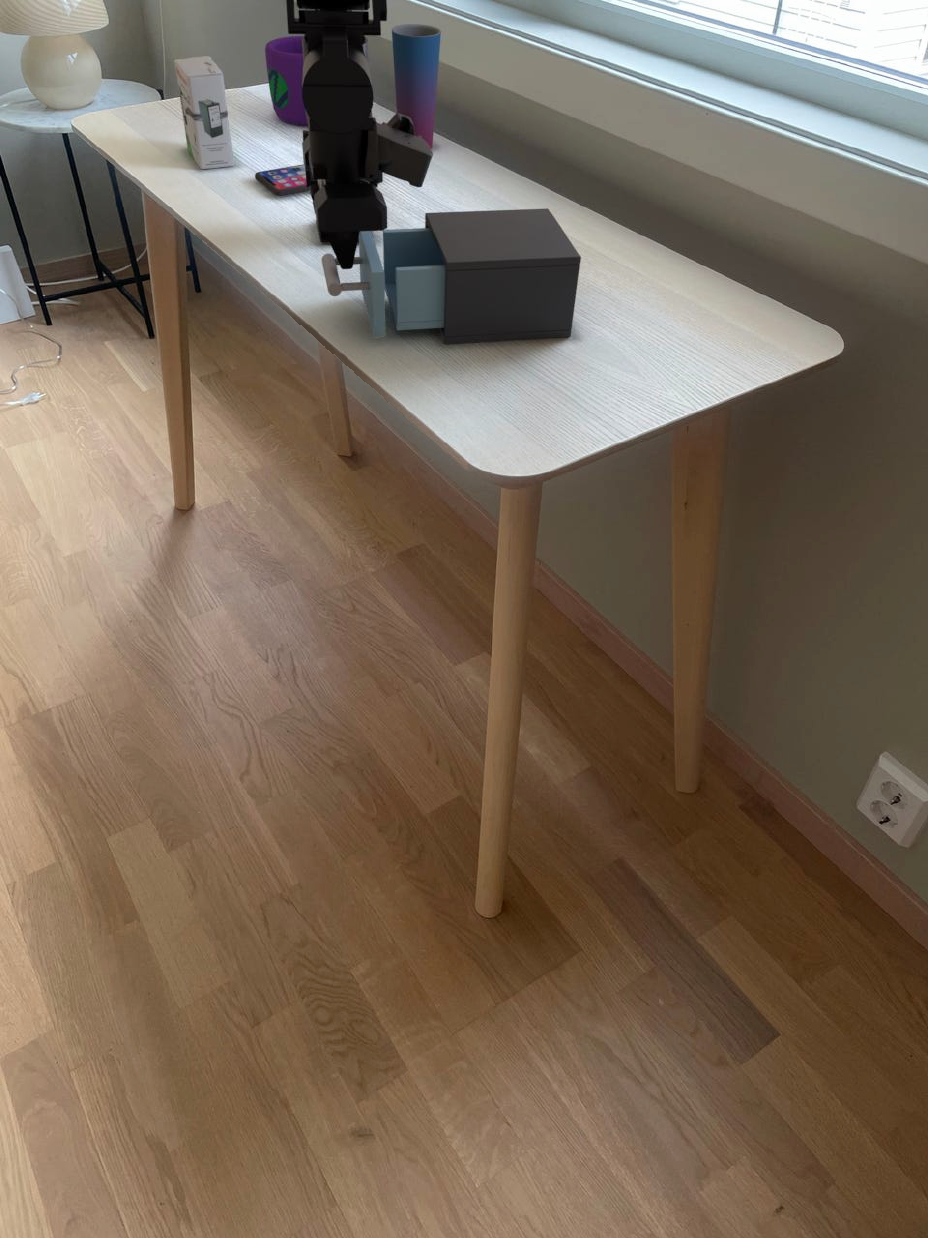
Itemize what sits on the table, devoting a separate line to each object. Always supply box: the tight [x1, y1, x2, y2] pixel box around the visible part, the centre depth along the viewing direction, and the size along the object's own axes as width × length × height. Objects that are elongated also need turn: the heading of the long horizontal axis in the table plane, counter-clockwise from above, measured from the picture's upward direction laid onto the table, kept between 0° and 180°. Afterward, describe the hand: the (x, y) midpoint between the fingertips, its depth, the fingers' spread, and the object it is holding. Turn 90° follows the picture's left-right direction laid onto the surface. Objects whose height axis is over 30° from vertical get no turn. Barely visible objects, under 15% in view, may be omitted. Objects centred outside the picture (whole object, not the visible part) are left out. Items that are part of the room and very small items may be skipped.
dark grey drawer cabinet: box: [424, 208, 582, 345], centre depth 98 cm, size 14×13×9 cm
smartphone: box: [254, 163, 310, 197], centre depth 126 cm, size 8×1×15 cm
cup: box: [391, 23, 442, 149], centre depth 133 cm, size 7×7×15 cm
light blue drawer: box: [321, 227, 446, 338], centre depth 96 cm, size 17×11×7 cm
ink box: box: [173, 55, 236, 170], centre depth 127 cm, size 9×5×12 cm, turn 25°
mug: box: [264, 35, 308, 126], centre depth 141 cm, size 17×11×10 cm, turn 43°
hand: (346, 267), depth 94 cm, fingers closed
